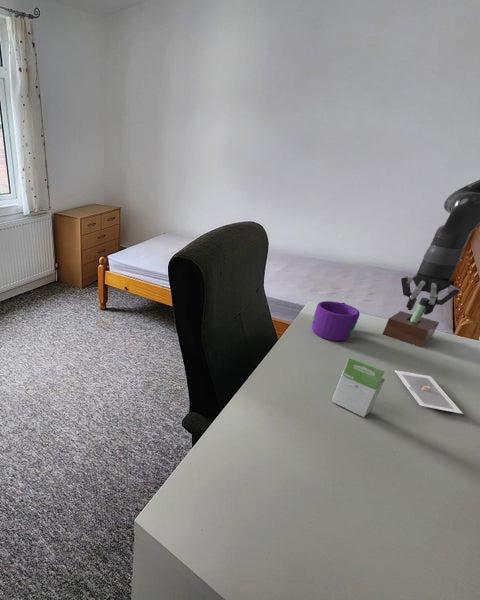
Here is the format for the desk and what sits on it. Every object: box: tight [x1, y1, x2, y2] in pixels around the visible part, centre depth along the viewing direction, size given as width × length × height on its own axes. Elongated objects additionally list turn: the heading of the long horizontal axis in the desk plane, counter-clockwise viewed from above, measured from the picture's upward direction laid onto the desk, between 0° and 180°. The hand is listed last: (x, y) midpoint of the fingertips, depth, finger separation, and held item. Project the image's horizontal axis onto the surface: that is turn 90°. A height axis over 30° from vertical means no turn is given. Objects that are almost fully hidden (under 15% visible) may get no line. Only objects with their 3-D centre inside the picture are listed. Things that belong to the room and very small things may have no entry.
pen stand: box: [382, 310, 440, 348], centre depth 111 cm, size 10×10×6 cm
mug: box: [311, 300, 361, 342], centre depth 114 cm, size 17×11×10 cm, turn 134°
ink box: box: [331, 357, 386, 418], centre depth 80 cm, size 7×4×13 cm, turn 34°
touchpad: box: [394, 369, 464, 414], centre depth 86 cm, size 8×15×2 cm, turn 158°
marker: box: [410, 297, 430, 323], centre depth 109 cm, size 2×2×14 cm
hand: (417, 311), depth 108 cm, fingers open, 3 cm apart
